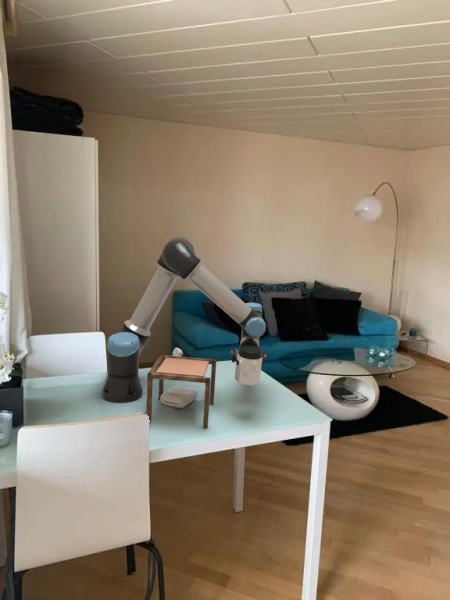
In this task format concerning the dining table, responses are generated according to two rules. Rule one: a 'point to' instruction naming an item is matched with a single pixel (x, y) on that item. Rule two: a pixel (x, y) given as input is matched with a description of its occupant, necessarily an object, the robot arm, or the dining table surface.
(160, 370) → the trapdoor
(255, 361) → the jar
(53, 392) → the dining table surface
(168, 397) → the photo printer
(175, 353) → the sitting furry creature
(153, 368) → the trapdoor frame
